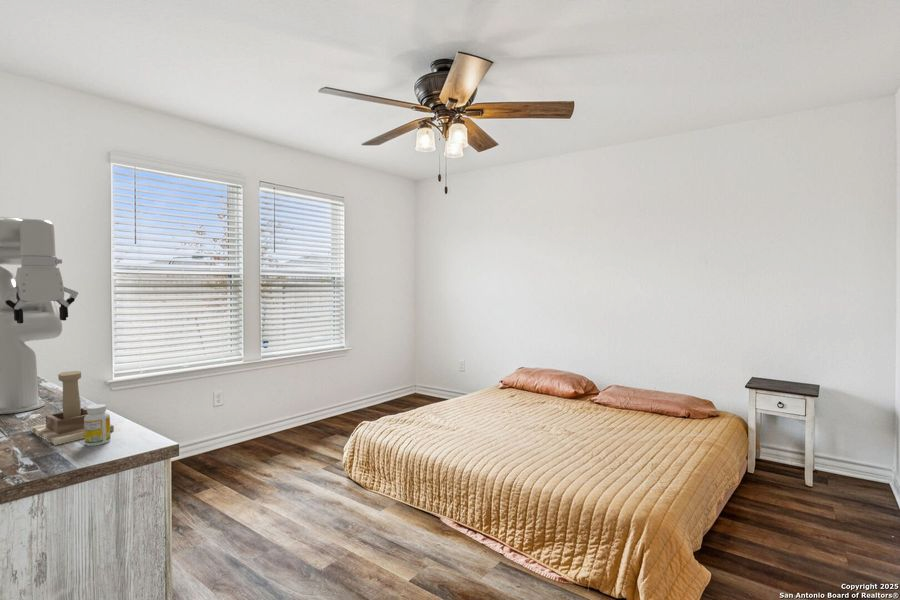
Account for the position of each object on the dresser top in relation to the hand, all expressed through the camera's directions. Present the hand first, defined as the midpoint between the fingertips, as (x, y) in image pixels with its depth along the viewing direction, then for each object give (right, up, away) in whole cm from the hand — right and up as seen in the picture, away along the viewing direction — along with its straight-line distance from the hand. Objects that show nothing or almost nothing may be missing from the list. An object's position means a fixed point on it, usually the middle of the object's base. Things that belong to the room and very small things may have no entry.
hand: (42, 321), depth 133 cm
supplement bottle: (+27, -31, -14) cm, 44 cm away
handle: (+13, -29, -5) cm, 33 cm away
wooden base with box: (+13, -31, -5) cm, 34 cm away
